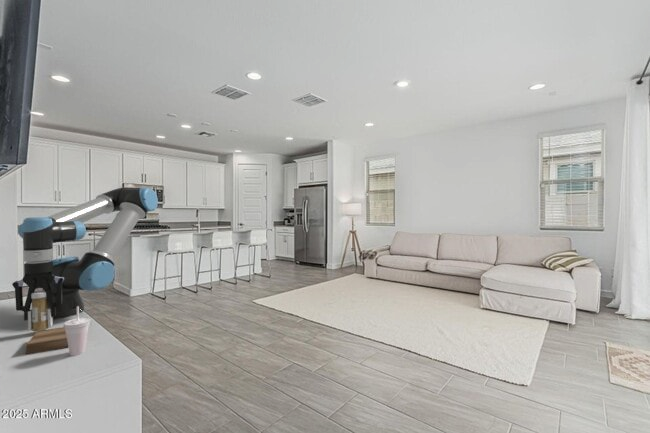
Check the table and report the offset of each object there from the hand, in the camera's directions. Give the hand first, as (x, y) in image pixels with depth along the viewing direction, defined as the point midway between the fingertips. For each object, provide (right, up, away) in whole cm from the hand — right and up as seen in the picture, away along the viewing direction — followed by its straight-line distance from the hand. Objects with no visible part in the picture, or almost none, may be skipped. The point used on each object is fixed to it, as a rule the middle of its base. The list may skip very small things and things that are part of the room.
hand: (40, 327), depth 110 cm
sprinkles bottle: (0, -1, 0) cm, 1 cm away
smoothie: (+25, -3, -15) cm, 29 cm away
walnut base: (+13, -2, -8) cm, 15 cm away
